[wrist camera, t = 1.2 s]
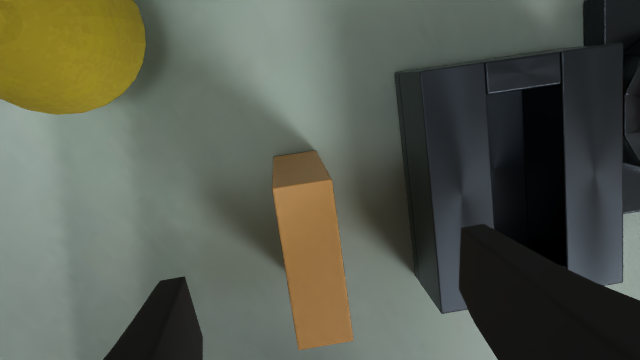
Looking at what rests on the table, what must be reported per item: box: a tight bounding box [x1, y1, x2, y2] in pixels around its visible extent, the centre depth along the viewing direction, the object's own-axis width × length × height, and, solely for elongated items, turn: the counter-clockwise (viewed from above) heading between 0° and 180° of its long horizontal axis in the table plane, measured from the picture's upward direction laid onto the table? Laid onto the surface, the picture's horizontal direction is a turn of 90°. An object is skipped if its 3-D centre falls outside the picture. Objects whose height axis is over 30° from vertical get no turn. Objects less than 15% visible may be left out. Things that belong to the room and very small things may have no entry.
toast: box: [272, 151, 353, 350], centre depth 20 cm, size 6×2×6 cm, turn 8°
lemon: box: [0, 0, 146, 115], centre depth 17 cm, size 6×6×8 cm
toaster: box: [395, 42, 623, 314], centre depth 21 cm, size 10×8×4 cm
